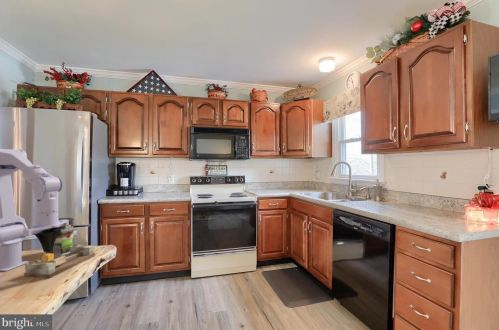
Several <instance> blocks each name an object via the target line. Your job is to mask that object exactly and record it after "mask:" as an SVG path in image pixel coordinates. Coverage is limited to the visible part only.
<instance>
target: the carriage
mask: <svg viewBox="0 0 499 330" xmlns="http://www.w3.org/2000/svg"><path fill="white" fill-rule="evenodd" d="M47 253H52V254H54V259H53V260H51V261H49V263H55V266H57V265H59V264H61V263H64V262H66V256H65V255H62V256H61V246H56V245H54V246H53V250H52V251H50V252H46V254H47ZM40 262H45V261H42V258H41V259H40Z"/></svg>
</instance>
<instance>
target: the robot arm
mask: <svg viewBox="0 0 499 330" xmlns="http://www.w3.org/2000/svg"><path fill="white" fill-rule="evenodd" d="M19 170H20V171H21V172H22V177H23V178H24V179H25V180H26V181H27V182H28V183H30V185H31V187H32V188H31V189H32V191H33V194H34V199H36V225H34V226H31V227H28V225H27V223H26V220H25V218H24V217H21V216H19V215H17V211H16V210H17V209H16V203H15V196H14V190H13V189H14V187H13V181H12V180H13V179H12V174H13V173H16V172H18V171H19ZM63 184H64V183H63V179H62V178H61V177H60V176H59V175H51V174H50V173H49V172H47V171H46V170H45V169H44V168H43V167H42V166H41V165H40V164H33V163H32V162H31V161H30V160H29V159H28V154H27V152H26V151H25V150H23V149H13V148H12V149H10V148H9V149H8V148H0V272H7V271H10V270H12V269H15V268H17V267H20V266H23V265H25V264H27V263H29V261H28V260H23V258H22V257H23V256H22V252H23V251H22V246H23V245H22V242H23V241H24V240H25V238H27V237H31V236H33V235H34V236H35V237H36V238H37V240H38V241H39V242H40V245H41V247H42V250H43V253H44V252H50V251H52V250H53V246H54V243H55V240H56V238H57V236H58V235H59V233H60V232H61V229H57V227H61V226H64V225H69V220H60V221H58V218H59V193H60V192H61V191H62V189H63Z"/></svg>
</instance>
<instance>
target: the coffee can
mask: <svg viewBox="0 0 499 330" xmlns="http://www.w3.org/2000/svg"><path fill="white" fill-rule="evenodd" d="M60 220H69V225H64V226H61V227H57V229H61V232H60V233H59V235H58V236H57V238H56V240H55V243H54V245H56V246H61V256H65V255H67V254H70V246H73V245H74V218H72V217H61V218H59V217H58V221H60ZM44 254H46V252H44V251H43V255H44Z"/></svg>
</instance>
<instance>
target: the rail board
mask: <svg viewBox="0 0 499 330" xmlns="http://www.w3.org/2000/svg"><path fill="white" fill-rule="evenodd" d="M64 256H66V262H64V263H61V264H59V265H57V266H55V263H49V262H41V261H38V260H31V261H30V262H28V263H26V264H24V265H25V266H24V267H25V270H24V271H25V272H23V276H24V277H26V278H27V277H28V278H43V279H51V278H53V277H55V276H58V275H59V274H62V273H64V272H65V271H67V270H69V269H71V268H74V267H75V266H78V265H80V264H82V263H84V262H85V261H88V260H89V259H91V258H94V257H95V256H96V253H95V245H88V244H87V245H84V244H79V243H77V244H73V246H70V253H69V254H66V255H64Z"/></svg>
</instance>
